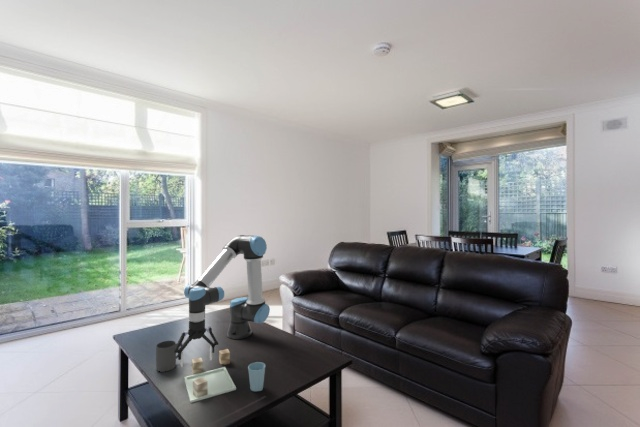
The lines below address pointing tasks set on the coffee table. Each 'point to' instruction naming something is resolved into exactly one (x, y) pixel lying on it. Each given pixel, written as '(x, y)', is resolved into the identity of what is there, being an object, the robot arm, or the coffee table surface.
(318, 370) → the coffee table surface
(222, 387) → the tray
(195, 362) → the beech block
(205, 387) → the maple block
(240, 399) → the coffee table surface
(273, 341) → the coffee table surface
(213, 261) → the robot arm
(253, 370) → the cup
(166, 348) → the mug
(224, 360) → the oak block
